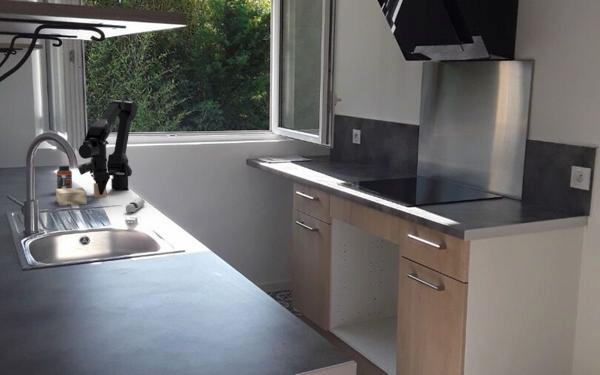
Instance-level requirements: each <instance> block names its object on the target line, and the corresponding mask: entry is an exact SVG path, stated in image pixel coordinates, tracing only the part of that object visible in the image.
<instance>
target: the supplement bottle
mask: <svg viewBox="0 0 600 375" xmlns="http://www.w3.org/2000/svg"><path fill="white" fill-rule="evenodd" d="M58 168H59V169H58V170H57V171H56V186H57V188H56V189H66V188H73V172H72V170H70V165H69V164H59V165H58Z"/></svg>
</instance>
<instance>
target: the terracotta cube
mask: <svg viewBox="0 0 600 375" xmlns="http://www.w3.org/2000/svg"><path fill="white" fill-rule="evenodd" d="M93 196H94V197H95V198H104V197H107V186H106V187H105V190H104V192H103V194H102V195H100V194H99V190H98V185H97V183H96V182H95V183H94V182H93Z"/></svg>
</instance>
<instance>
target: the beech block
mask: <svg viewBox="0 0 600 375" xmlns="http://www.w3.org/2000/svg"><path fill="white" fill-rule="evenodd" d="M55 198H56V199H55V201H56V202H58V203H59V204H58V203H57V204H58V205H60V206H68V205H67V204H76V205H86V204H88V202H87V201H88V200H87V199H88V198H87V191H86V190H85V189H84V188H83V187H72V188H66V189H57V188H56V189H55Z"/></svg>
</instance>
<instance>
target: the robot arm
mask: <svg viewBox="0 0 600 375" xmlns="http://www.w3.org/2000/svg"><path fill="white" fill-rule="evenodd" d="M138 106H139V105H138V104H136V102H135V101H122V100H111V101H110V104H109V106H108V107H107V109H106V110H105V111H104V113H103V115H102V116H101V117H100V119H98V120H97V121H94V122H93V123H91V125H90V126H89V127H88V129H87V132H86V135H85V137H84V140H83V141H82V144H81V145H80V146H79V148H78V155H79V157H80V158H82V159H90V161H89V162H86V163H85V162H84V163H82V164H80V165H78V166H77V170H78V171H79V175H85V174H87V173H88V172H89V174H90V177H91V178H92V179H93V181H94V182H95V183H97V185H98V190H99V194H100V195H102V194H103V192H104V190H105V187H106V188H107V185H108V182H109V181H110V187H111V189H112V190H113V191H129V190H130V189H129V177H131V176H132V175H133V170H132V168H131V167H130V165H129V158H128V156H127V147H128V142H129V135H130V129H131V123H132V122H133V120H135V119H136V116H137V113H138V110H139V108H138ZM117 118H118V120H119V122H118V127H117V131H116V132H117V133H116V139H115V145H114V151H113V152H112V153H111V154H110V153H109V154H108V157H107V145H108V144H109V142H108V140H107V139H108V138H109V136H110V134H111V129H110V128H111V126H112V124H113V123H114V122H115V120H116V119H117ZM111 176H112V178H111Z"/></svg>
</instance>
